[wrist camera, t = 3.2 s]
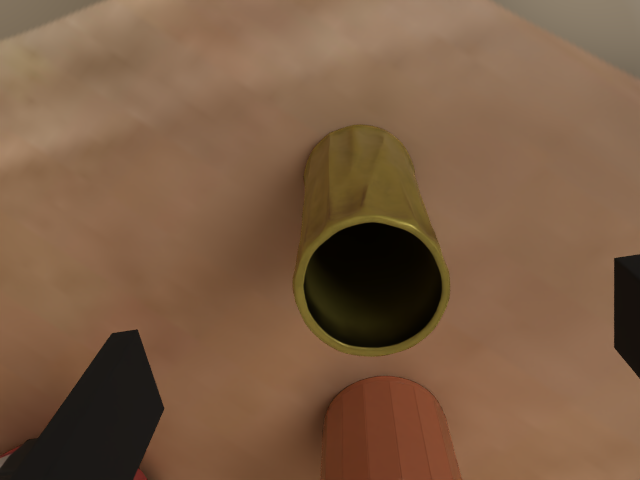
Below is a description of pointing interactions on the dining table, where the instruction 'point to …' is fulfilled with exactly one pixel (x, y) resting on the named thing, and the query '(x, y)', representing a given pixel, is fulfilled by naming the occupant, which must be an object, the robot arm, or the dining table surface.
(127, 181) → the dining table surface
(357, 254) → the vase
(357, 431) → the terracotta cup
